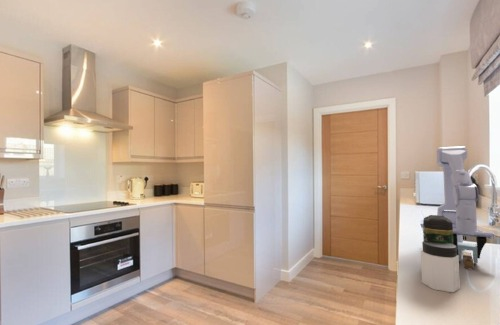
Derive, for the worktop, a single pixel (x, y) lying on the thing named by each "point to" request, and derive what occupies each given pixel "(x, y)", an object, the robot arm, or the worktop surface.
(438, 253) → the jar
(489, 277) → the worktop surface
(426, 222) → the coffee jar
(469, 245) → the light blue open box
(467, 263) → the brown board
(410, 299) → the worktop surface
